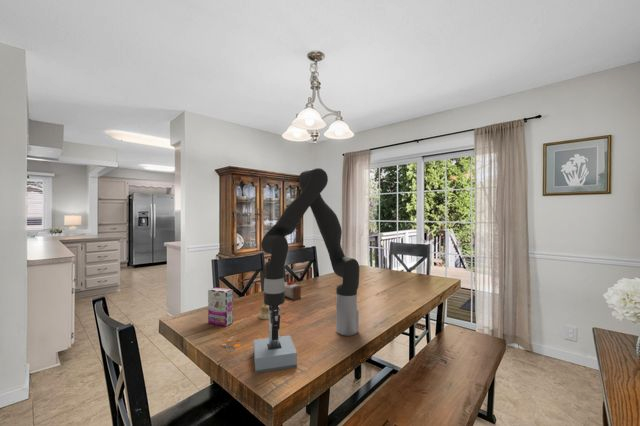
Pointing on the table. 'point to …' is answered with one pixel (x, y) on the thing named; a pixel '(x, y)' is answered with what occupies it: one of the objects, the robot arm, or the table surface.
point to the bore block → (274, 355)
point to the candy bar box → (220, 306)
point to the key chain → (229, 344)
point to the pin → (272, 343)
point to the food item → (292, 290)
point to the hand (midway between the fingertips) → (274, 336)
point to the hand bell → (264, 312)
